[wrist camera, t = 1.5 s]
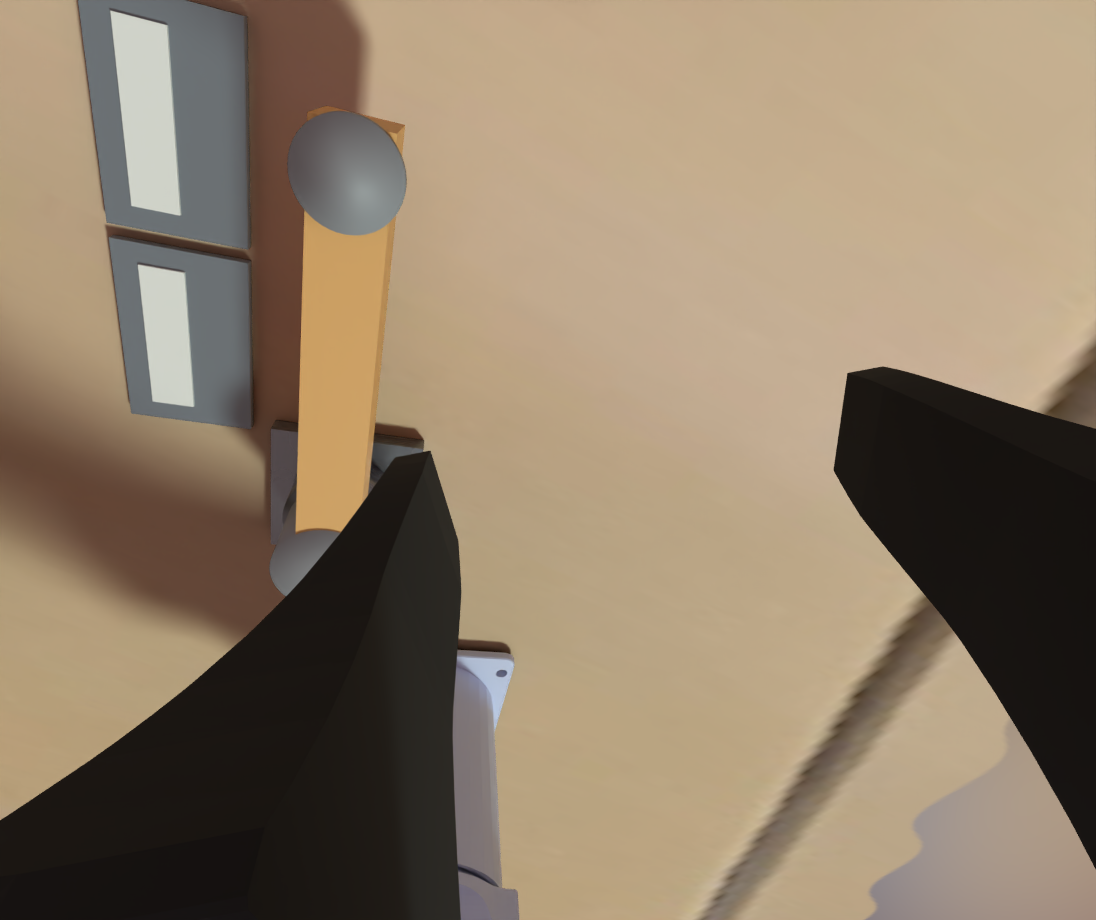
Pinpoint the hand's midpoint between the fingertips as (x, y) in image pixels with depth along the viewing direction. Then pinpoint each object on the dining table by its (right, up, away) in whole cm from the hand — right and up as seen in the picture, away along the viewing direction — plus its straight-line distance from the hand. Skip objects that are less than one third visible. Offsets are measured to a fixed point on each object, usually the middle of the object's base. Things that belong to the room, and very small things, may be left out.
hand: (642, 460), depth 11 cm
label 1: (-11, +9, +5) cm, 15 cm away
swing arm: (-8, +2, +7) cm, 11 cm away
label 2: (-13, +4, +8) cm, 16 cm away
